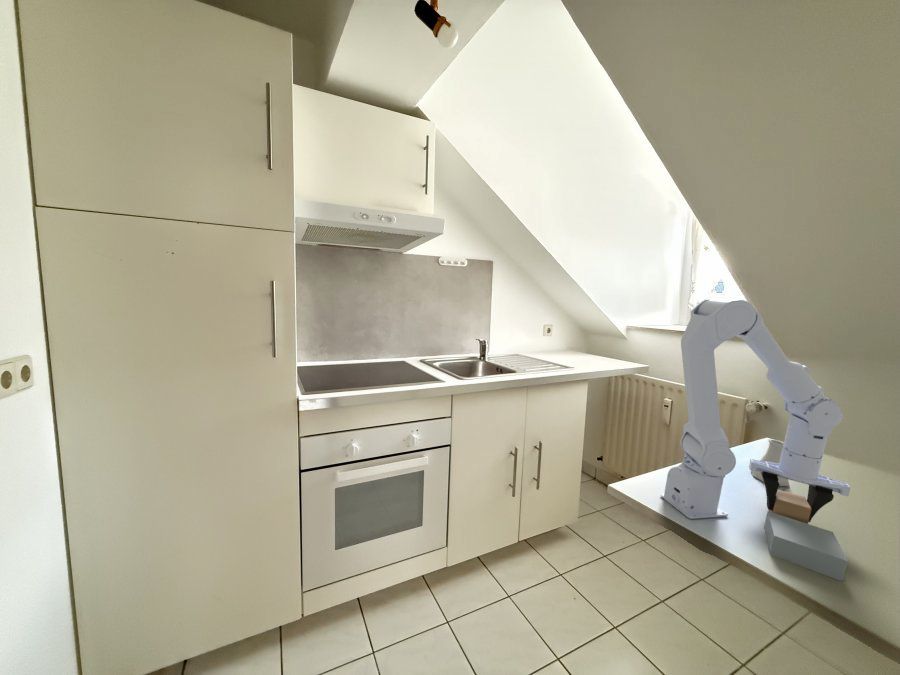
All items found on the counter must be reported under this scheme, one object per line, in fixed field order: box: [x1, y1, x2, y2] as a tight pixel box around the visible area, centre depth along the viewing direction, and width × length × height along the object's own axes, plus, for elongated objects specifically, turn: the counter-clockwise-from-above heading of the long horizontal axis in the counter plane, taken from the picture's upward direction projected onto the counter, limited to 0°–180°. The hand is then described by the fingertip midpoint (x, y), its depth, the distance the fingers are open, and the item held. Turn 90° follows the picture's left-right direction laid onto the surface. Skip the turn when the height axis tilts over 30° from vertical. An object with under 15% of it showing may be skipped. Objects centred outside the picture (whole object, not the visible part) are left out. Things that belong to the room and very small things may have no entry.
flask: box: [750, 438, 790, 487], centre depth 89 cm, size 7×7×10 cm
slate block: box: [763, 510, 849, 582], centre depth 64 cm, size 9×9×4 cm
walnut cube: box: [767, 489, 811, 524], centre depth 73 cm, size 5×5×5 cm
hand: (787, 513), depth 74 cm, fingers closed on walnut cube, 5 cm apart
